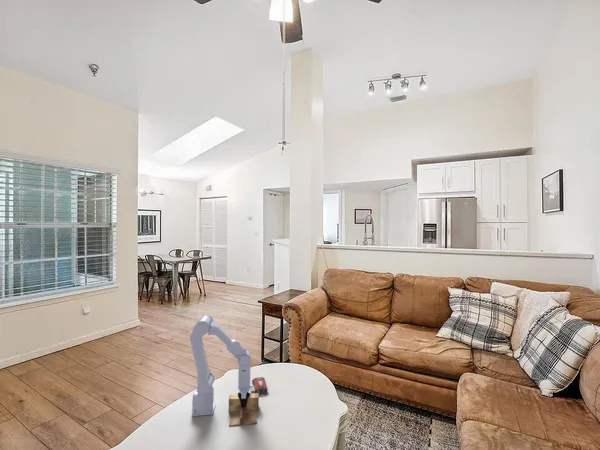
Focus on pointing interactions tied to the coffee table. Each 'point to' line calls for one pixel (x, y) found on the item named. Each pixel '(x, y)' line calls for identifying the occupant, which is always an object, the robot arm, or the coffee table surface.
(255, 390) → the walkie-talkie
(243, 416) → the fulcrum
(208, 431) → the coffee table surface
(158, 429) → the coffee table surface
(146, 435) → the coffee table surface
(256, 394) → the oak bar
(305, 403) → the coffee table surface
